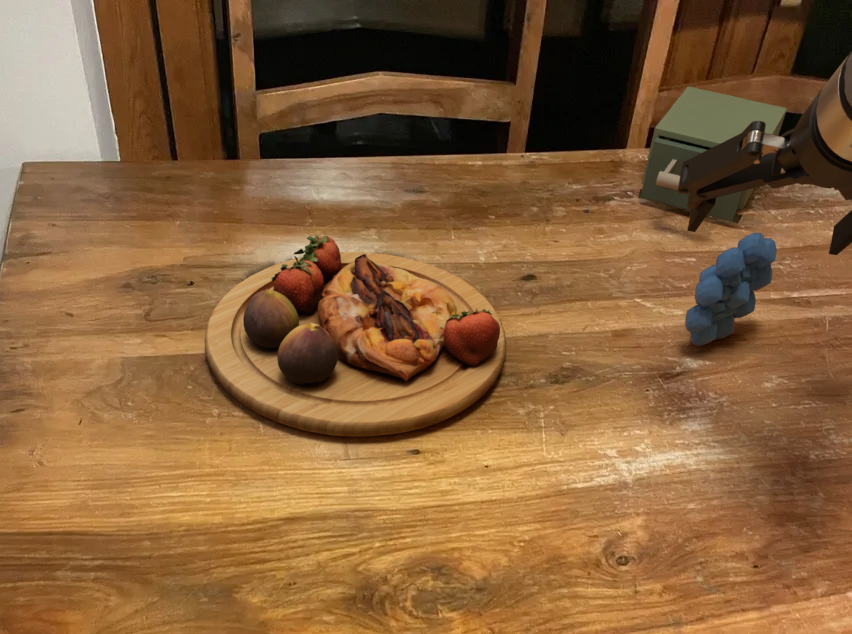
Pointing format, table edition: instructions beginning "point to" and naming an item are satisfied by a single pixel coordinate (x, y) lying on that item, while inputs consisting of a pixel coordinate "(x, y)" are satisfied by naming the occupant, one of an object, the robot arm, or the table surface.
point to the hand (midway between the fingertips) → (764, 229)
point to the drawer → (667, 175)
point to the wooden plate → (355, 342)
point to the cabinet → (714, 123)
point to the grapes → (730, 288)
